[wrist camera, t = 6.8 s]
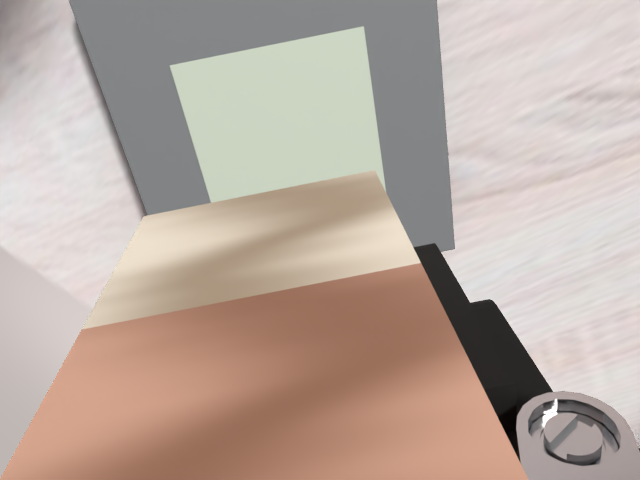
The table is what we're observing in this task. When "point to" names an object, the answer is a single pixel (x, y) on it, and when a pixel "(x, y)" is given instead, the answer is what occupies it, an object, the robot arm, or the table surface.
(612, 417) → the robot arm
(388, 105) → the base board
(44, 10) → the table surface
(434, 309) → the brick stack
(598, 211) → the table surface
